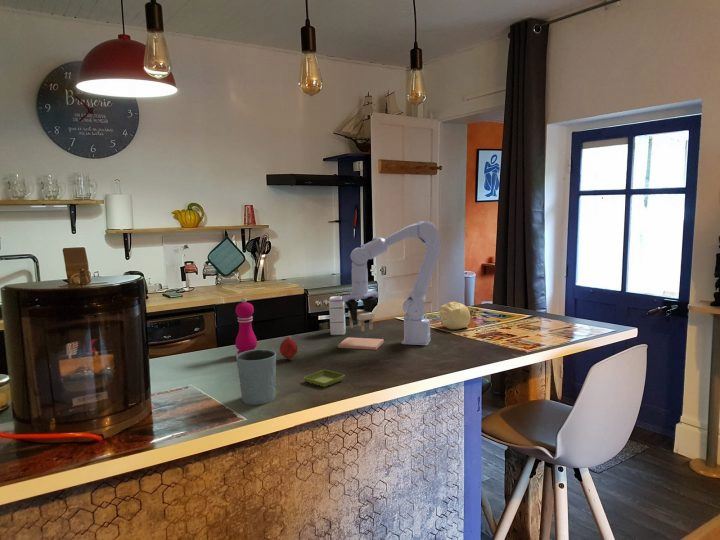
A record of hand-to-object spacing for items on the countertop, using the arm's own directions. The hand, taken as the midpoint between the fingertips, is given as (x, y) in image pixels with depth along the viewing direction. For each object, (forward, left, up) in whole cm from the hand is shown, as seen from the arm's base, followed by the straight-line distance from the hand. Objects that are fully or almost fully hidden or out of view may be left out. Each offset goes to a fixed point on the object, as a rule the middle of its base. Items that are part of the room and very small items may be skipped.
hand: (360, 319), depth 187 cm
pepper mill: (+34, +22, -10) cm, 42 cm away
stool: (0, 0, -3) cm, 4 cm away
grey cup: (+11, +58, -10) cm, 60 cm away
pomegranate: (+18, +23, -10) cm, 31 cm away
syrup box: (+14, -15, -10) cm, 23 cm away
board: (0, 0, -9) cm, 9 cm away
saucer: (-1, +41, -10) cm, 42 cm away
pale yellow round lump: (-30, -33, -10) cm, 46 cm away
